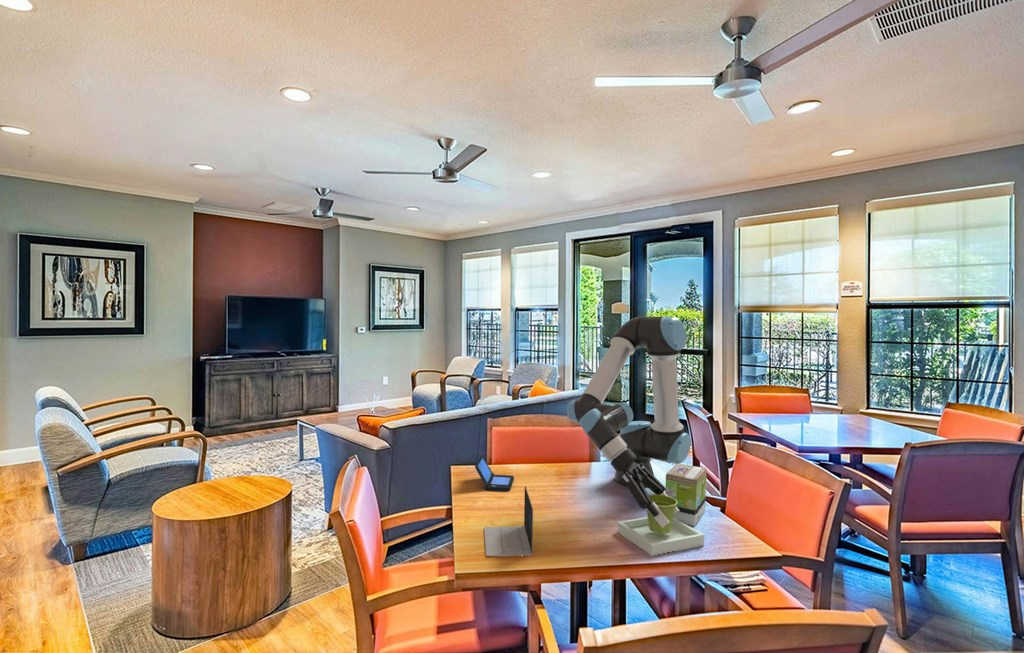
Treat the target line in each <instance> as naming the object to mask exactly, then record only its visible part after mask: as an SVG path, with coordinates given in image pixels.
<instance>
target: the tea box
mask: <svg viewBox="0 0 1024 653" xmlns="http://www.w3.org/2000/svg"><path fill="white" fill-rule="evenodd" d="M707 474H708V473H707V468H706V467H700V466H693V465H689V464H683V463H680V464H678V463H677V464H674V466H673V467H672V468H671V469H670V470H669V471H668V472H666V474H665V485H664V487H665V488H666V490H665V491H664V492H665V493H666V495H667V496H669V497H672V498H674V499H676V500H677V505H676V507H677V508H678V509H679V511H678V512H677V513H676V514H674V515H673V518H675V519H677V520H679V521H681V522H682V523H684V524H686V525H688V526H693V527H694V526H696V525H697V523H698V522H699V520H700V519H701V518H702V516H703V515H704V512H706V502H707V501H706V500H707V499H706V498H707V497H706V495H707Z"/></svg>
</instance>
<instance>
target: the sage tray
mask: <svg viewBox="0 0 1024 653" xmlns="http://www.w3.org/2000/svg"><path fill="white" fill-rule="evenodd" d="M617 533H618V534H620V536H623V537H624V538H625V539H627V540H628V541H630V542H631V543H632V542H633V544H634V545H635V544H636V547H638V546H639V547H638V548H640V549H641V548H642V549H643V550H642V549H641V550H642V551H644V550H645V551H646V552H645V551H644V552H645V553H647V552H648V553H649V554H650V555H649V554H648V553H647V554H648V555H649V556H651V555H652V556H651V557H654V556H653V555H655V556H659V555H658V554H660V555H663V553H665V554H668V553H667V552H670V553H673V552H672V551H674V552H679V551H683V550H688V549H693V548H699V547H703V546H705V534H704V533H703V532H701V531H700V530H697V529H696V528H693V527H691V525H688V524H684V523H682V522H681V521H679V520H677V519H675V518H673V520H672V527H671V531H670V532H669V533H666V534H660V533H658V532H653V531H651V530H650V529H649V524H648V516H643V517H639V518H633V519H629V520H627V519H626V520H621V521H617Z"/></svg>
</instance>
